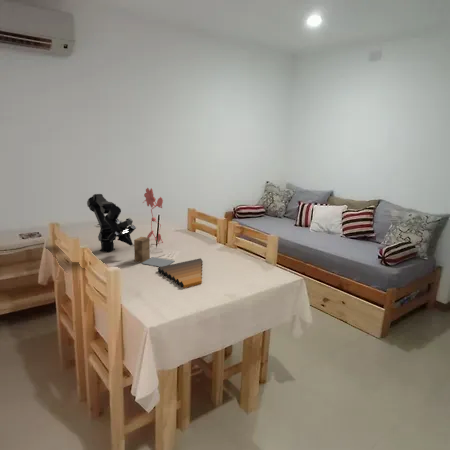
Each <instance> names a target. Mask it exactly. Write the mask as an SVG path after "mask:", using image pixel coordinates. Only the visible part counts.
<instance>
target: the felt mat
mask: <svg viewBox="0 0 450 450" xmlns="http://www.w3.org/2000/svg"><path fill="white" fill-rule="evenodd" d="M140 263H141V265H146V266H152V267H157V268H159V267H162V266H167V265H171V264H174V263H175V260H172V259H167V258H160V257H154V256H150V259H148V260H146V261H144V262H140Z"/></svg>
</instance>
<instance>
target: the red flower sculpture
mask: <svg viewBox="0 0 450 450" xmlns="http://www.w3.org/2000/svg"><path fill="white" fill-rule="evenodd" d="M143 197H144V198H145V200H144V201H143V202H142V204H144V203H145V202H146V206H147V207H150V208H151V209H150V213H151V216H152V217H151V221H150V225H151V227H150V228H151V230H150V232H149V233H148V235H147V238H149V239H150V238H151V237H152V236H153V238H154V240H155V241H154V242H156V240H157V235H156V236H155V233H154V230H153V223H152V222H154V223H157V224H158V223H159V222H158V221H156V220H157V218H156V217H154V214H153V210H154V209H155V208H156V207H158V208H161V209H163V203H164V200H163V198H162V197H161V196H159V198H157V201H156V198H155V196H154V190H153V188H152V187H151V188H150V189H149V187H147V188H145V193H144V196H143ZM161 226H162V225H161V224H160V223H159V230H158V233H157V234H158V244H159V243H160V242H161V243H164V241H163V239H162V235H161V234H160V230H161ZM151 247H152V248H153V247H154V246H153V245H150V248H151Z"/></svg>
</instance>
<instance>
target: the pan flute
mask: <svg viewBox="0 0 450 450" xmlns="http://www.w3.org/2000/svg"><path fill="white" fill-rule="evenodd" d="M203 262H204V261H203V260H202V258H201V257H200V258H195V259H190V260H187V261H181V262H178V263H172V264H170V265H167V266H162V267H157V271H158V273H160V274H161V275H163V276H165V277H166V278H167V279H169V280H170V281H172V282H173V283H175V284H176V285H178V286H180V288H182V289H184V288H189V287H193V286H196V285H199V284H200V285H201V284H203Z"/></svg>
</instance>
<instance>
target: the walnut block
mask: <svg viewBox="0 0 450 450" xmlns="http://www.w3.org/2000/svg"><path fill="white" fill-rule="evenodd" d="M150 242H151V241H150V238H147V237H146V236H140V237H138V238H135V239H134V240H133V243H134V244H133V247H134V249H133V250H134V262H138V263H142V262H144V261H146V260H148V259H150V258H151V256H150V251H151V250H150V248H151V247H150V246H151V245H150V244H151V243H150Z"/></svg>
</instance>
